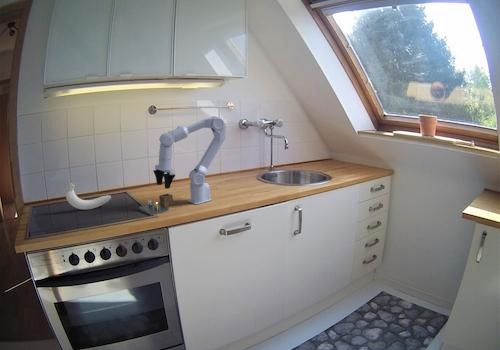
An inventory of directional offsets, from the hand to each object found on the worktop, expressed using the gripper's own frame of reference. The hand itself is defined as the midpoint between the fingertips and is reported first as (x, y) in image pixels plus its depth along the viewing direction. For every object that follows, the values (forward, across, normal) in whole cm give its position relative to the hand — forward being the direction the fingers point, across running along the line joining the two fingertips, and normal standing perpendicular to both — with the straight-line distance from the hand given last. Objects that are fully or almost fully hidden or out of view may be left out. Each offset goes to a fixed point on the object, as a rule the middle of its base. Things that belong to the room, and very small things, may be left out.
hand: (163, 186), depth 157 cm
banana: (+15, -23, -25) cm, 37 cm away
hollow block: (+10, 0, +2) cm, 10 cm away
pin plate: (+10, +2, -6) cm, 12 cm away
